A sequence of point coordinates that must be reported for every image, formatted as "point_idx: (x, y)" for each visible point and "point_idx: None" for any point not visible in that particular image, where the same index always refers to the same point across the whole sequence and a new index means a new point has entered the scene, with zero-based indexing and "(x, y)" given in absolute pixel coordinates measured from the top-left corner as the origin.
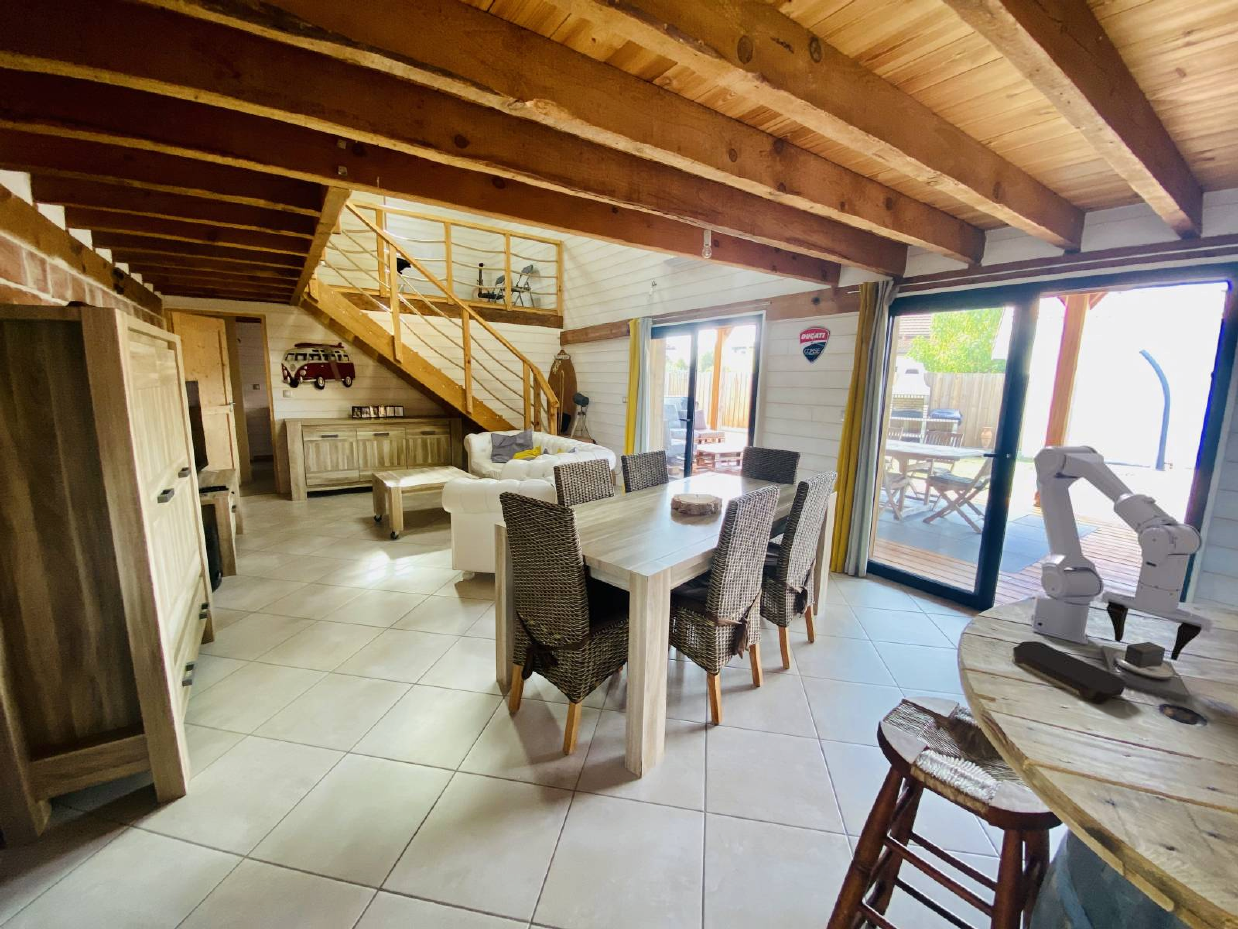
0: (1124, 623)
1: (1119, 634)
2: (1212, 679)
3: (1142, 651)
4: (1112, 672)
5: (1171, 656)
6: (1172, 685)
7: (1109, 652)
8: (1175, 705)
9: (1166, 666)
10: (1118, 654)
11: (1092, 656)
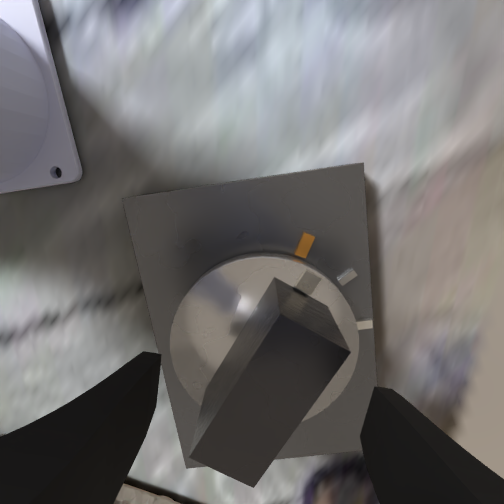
0: (111, 417)
1: (131, 460)
2: (488, 134)
3: (250, 485)
4: (186, 451)
5: (365, 455)
6: (345, 406)
7: (156, 266)
8: (341, 459)
9: (341, 314)
10: (182, 336)
11: (120, 278)
